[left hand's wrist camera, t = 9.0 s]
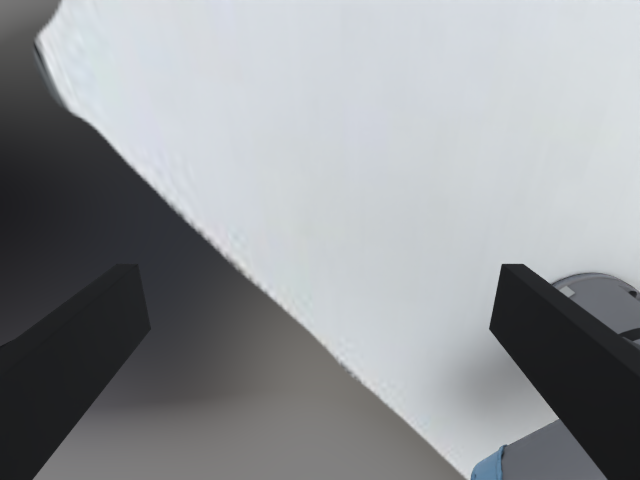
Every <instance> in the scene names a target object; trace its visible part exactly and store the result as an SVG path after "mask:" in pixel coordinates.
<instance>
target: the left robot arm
mask: <svg viewBox="0 0 640 480" xmlns="http://www.w3.org/2000/svg"><path fill="white" fill-rule="evenodd" d="M150 329H151V327H150V322H149V317H148V312H147V307H146V302H145V297H144V292H143V287H142V281H141V276H140V271H139V266H138V264H116V265H115V266H113V267H112V268H111V269H109V270H108V271H107V272H105V273H104V274H103V275H101V276H100V277H98V278H97V279H96V280H94V281H93V282H92V283H90V284H89V285H88V286H86V287H85V288H84V289H82V290H81V291H80V292H78V293H77V294H75V295H74V296H73V297H71V298H70V299H69V300H67V301H66V302H65V303H63V304H62V305H61V306H59V307H58V308H57V309H55V310H54V311H53V312H51V313H50V314H48V315H47V316H46V317H44V318H43V319H42V320H40V321H39V322H38V323H36V324H35V325H34V326H32V327H31V328H30V329H28V330H27V331H25V332H24V333H23V334H21V335H20V336H19V337H17V338H16V339H14V340H12V341H10V342H8V343H6V344H4V345H2V346H0V480H33V478H34V477H35V476H36V475H37V473H38V472H39V471H40V469H41V468H42V467H43V466H44V464H45V463H46V462H47V461H48V459H49V458H50V457H51V455H52V454H53V453H54V452H55V450H56V449H57V448H58V447H59V445H60V444H61V443H62V441H63V440H64V439H65V438H66V436H67V435H68V434H69V433H70V431H71V430H72V429H73V427H74V426H75V425H76V424H77V422H78V421H79V420H80V419H81V417H82V416H83V415H84V413H85V412H86V411H87V410H88V408H89V407H90V406H91V404H92V403H93V402H94V401H95V399H96V398H97V397H98V396H99V394H100V393H101V392H102V391H103V389H104V388H105V387H106V385H107V384H108V383H109V382H110V380H111V379H112V378H113V377H114V375H115V374H116V373H117V371H118V370H119V369H120V368H121V366H122V365H123V364H124V363H125V361H126V360H127V359H128V357H129V356H130V355H131V354H132V352H133V351H134V350H135V349H136V347H137V346H138V345H139V344H140V342H141V341H142V340H143V338H144V337H145V336H146V335H147V333H148V332H149V331H150ZM489 330H490V331H491V332H492V333H493V335H494V336H495V337H496V338H497V340H498V341H499V342H500V344H501V345H502V346H503V347H504V349H505V350H506V351H507V352H508V354H509V355H510V356H511V357H512V359H513V360H514V361H515V363H516V364H517V365H518V366H519V368H520V369H521V370H522V371H523V373H524V374H525V375H526V377H527V378H528V379H529V380H530V382H531V383H532V384H533V385H534V387H535V388H536V389H537V391H538V392H539V393H540V394H541V396H542V397H543V398H544V399H545V401H546V402H547V403H548V405H549V406H550V407H551V408H552V410H553V411H554V412H555V413H556V415H557V416H558V417H559V419H558V420H557V421H555V422H553V423H551V424H549V425H547V426H545V427H543V428H541V429H539V430H537V431H535V432H533V433H531V434H529V435H528V436H526V437H524V438H522V439H520V440H518V441H516V442H514V443H512V444H510V445H503V446H501V447H500V448H499V451H497V452H495V453H494V454H492V455H490V456H489V457H487V458H486V459H484V460H482V461H481V462H479V463H478V464H477V465H476V466H475V467H474V469H473V471H472V474H471V480H640V292H639V291H637V290H636V289H635V288H633V287H632V286H630V285H629V284H627V283H625V282H624V281H622V280H620V279H618V278H616V277H613V276H610V275H606V274H599V273H588V274H580V275H575V276H571V277H568V278H565V279H563V280H560V281H558V282H556V283H554V284H552V285H551V284H550V283H548V282H547V281H546V280H544V279H543V278H542V277H540V276H539V275H537V274H536V273H535V272H533V271H532V270H531V269H529V268H528V267H527V266H525V265H524V264H502V266H501V271H500V276H499V281H498V287H497V292H496V297H495V302H494V307H493V312H492V317H491V322H490V327H489Z"/></svg>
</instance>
